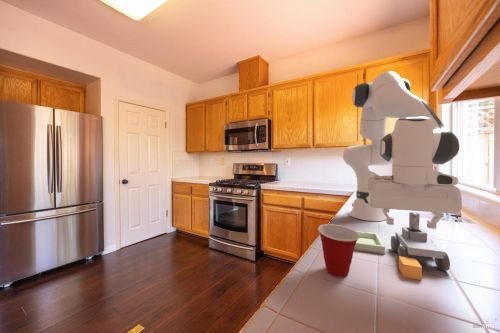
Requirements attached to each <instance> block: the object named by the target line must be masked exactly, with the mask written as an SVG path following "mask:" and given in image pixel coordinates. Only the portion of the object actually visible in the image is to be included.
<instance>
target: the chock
mask: <svg viewBox="0 0 500 333" xmlns="http://www.w3.org/2000/svg"><path fill="white" fill-rule="evenodd" d="M398 269H399V271H400V273H401V275H402V277H404V278H405V277H406V278H409V279H414V280H421V281H422V280H423V277H422V276H423V273H422V272H423V267H422V265H421V264H420V262H419V261H418V260H417V259H416V258H412V257H409V258H407V257H401V256H399V259H398Z"/></svg>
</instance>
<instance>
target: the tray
mask: <svg viewBox="0 0 500 333" xmlns="http://www.w3.org/2000/svg"><path fill="white" fill-rule="evenodd" d="M355 231H356V232H358V233H359V235H360V238H359V239H358V240H357V242H356V245H355V248H354V251H360V252H368V253H374V254H381V255H385V254H386V253H385V252H386V246H385V245H384V242H383V241H382V238H381V237H380V235H379V233H376V232H368V231H367V232H366V231H360V230H359V231H358V230H355Z"/></svg>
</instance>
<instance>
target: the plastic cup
mask: <svg viewBox="0 0 500 333" xmlns="http://www.w3.org/2000/svg"><path fill="white" fill-rule="evenodd" d="M317 231H318V232H319V236H320V241H321V246H322V254H323V260H324V265H325V269H326V272H327V274H329V275H331V276H334V277H338V278H344V277H348V275H349V273H350V268H351V264H352V261H353V256H354V252H355V250H354V248H355V245H356V242H357V240H358V239H359V238H360V235H359V233H358V232H356V231H357V230H355V229H352V228H350V227H348V226H345V225H341V224H340V225H339V224H335V223H333V224H332V223H326V224H325V223H324V224H321V225H319V226H318V227H317Z"/></svg>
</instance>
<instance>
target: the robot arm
mask: <svg viewBox="0 0 500 333" xmlns="http://www.w3.org/2000/svg"><path fill="white" fill-rule="evenodd" d="M411 89H412V88H411V83H410V81H409V80H408V79H405V78H401V77H400V75H399V74H397V72H395V71H390V70H388V71H383V72H381V73H380V74H378V75H377V76H375V78H374V79H373V81H370V82H362V83H359V84H357V85H356V86H355V87H354V89H353V91H352V93H351V101H352V103H353V105H354V107H356V108H361V112H360V122H359V134H360V136H361V137H363V138H364V139H366V140H369V141H371V143H370V144H356V145H350V146H347V147H346V148H345V149H344V151H343V153H342V158H343V161H344V163H345V164H347V165H348V166H349V167H351V169H352V170H353V172H354V173H355V177H356V186H357V188H356V193H355V195H356V196H355V197H356V198H355V199H354V200H353V202H352V203H351V207H352V208H351V211H350V213H349V214H348V216H349V217H351V218H352V217H353V218H355V219H359V220H363V221H370V222H382V221H385V223H386V224H387V225H389V226H390V225H392V226H394V224H395V223H394V222H395V219H394V217H392V216H390V215H389V213H390V210H399V211H400V210H401V211H410V212H424V213H431V214H432V215H433V217H432V218H431V219H430V220H426V227H427V228H428V229H433V230H436V229H437V223H438V222H440V221H441V220H442V218H443V214H452V215H453V214H454V215H457V214H459V213H460V212H462V210H463V200H462V193H461V190H460V189H459V187H458V186H457V185H458V184H459V178H458V177H457V176H455V175H451V174H446V173H443V172H442V171H436V170H434V165H444V164H446V163H448V162H450V161H452V160H453V159H454V158H455V157H456V156H457V155H458V154H459V152H460V141H459V139H458V137H457V135H455V133H454V132H452V131H451V130H450V129H449V128H447V126H445V125H444V123H443V122H442V121H441V120H440V118H439V117H438V115H437V114H436V112H434V110H433V109H432V108H431V106H429V104H428V103H427V101H425V100H424V99H423V98H420V97H418V96H416V95H414V94H413V93H411V91H412V90H411ZM387 118H390V119H396V120H395V123H394V128H393V131H392V132H390V133H387V134H386V125H387V124H386V123H387V122H386V121H387ZM388 165H392V166H391V175H379V174H378V173H376V172H374V171H372V170H370V168H369V166H388Z"/></svg>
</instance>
